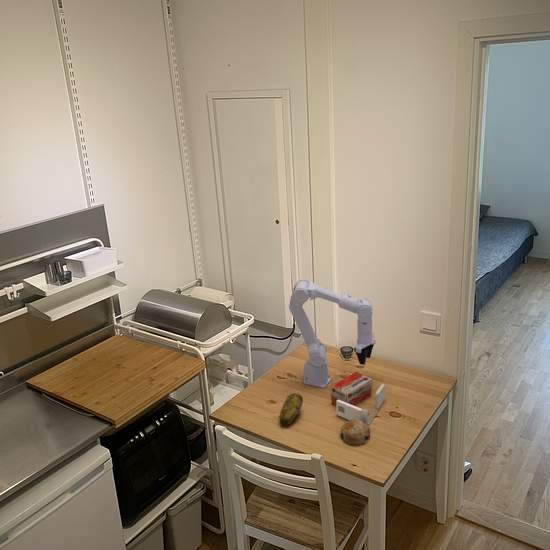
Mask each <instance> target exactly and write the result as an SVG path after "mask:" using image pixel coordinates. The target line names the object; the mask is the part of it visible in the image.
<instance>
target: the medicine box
mask: <svg viewBox="0 0 550 550" xmlns="http://www.w3.org/2000/svg"><path fill="white" fill-rule="evenodd" d="M372 381H373V379H372V378H371V377H368V376H366V375H364V374H363V373H361V372H358V371H355V372H353V373H351V374H349V375H348V376H345V377H344V378H343V379H341V380H339V381H338V382H336V383H334V384H332V385H331V387H330V400H331V404H332V403H333V404H332V405H335V406H336V401H337V400H341V401H343V402H346V403H348V404H351V405H353V406H356V407H357V406H358V405H359V404H361V403H363V402H365V401H366V400H367V399H369V398H371V397H372V393H373V389H372V387H373V385H372V384H373V382H372Z"/></svg>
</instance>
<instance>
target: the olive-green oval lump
mask: <svg viewBox="0 0 550 550" xmlns="http://www.w3.org/2000/svg"><path fill="white" fill-rule="evenodd" d="M303 401H304V398H303V396H302V395H300V394H299V393H290V394H289V395H288V396H287V397H286V399H285V400H284V403H283V405H282V407H281V410H280V412H279V420H280V423H281V424H282V425H285V426H288V425H289V424H292V422H293V421H294V419H296V417H297V416H298V414H299V412H300V411H301V408H302V406H303V403H304V402H303Z"/></svg>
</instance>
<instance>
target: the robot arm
mask: <svg viewBox="0 0 550 550" xmlns="http://www.w3.org/2000/svg"><path fill="white" fill-rule="evenodd" d="M309 298H310V299H309ZM317 298H319V299H323V300H325V301H329V302H333V303H334V304H337V305H338V307H339V309H342V310H345V311H348V312H350V313H354V314H356V315H357V319H356V320H357V321H356V323H357V329H356V330H357V339H356V346H355V347H354V348H353V352H354V353H355V354H356V356H357V360H358V363H359V365H363V366H365V365H366V361H367V359H371V356H372V352H373V349H374V346H375V344H376V340H374V339H373V338H374V335H375V334H374V332H373V314H374V313H373V305H372V302H371V301H370V300H368V299H367V298H360V299H359V298H357V297H355V296H352V294H351V293H348V294H347V293H343V294H339V293H336V292H334V291H332V290H329V289H327V288H325V287H322V286H320V285H318V284H316V283H315V282H314V281H309V280H306V279H299V280H298V281H297V282H296V283H295V285H294V287H293V289H292V291H291V295H290V299H289V305H288V308H289V312H290V313H291V315H292V318H293V319H294V321H295V324H296V326H297V328H298V330H299V333H300V334H301V337H302V338H303V341H304V342H305V345H306V348H307V354H308V356H309V359H306V360H305V362H304V365H303V384H304V385H310V386H313V387H317V388H322V389H324V388H325V387H326V386H328V385H329V383H330V382H331V381H332V377H329V374H328V369H329V368H328V360H327V358H326V356H327V352H328V349H327V347H326V345H325V344H324V343H322V341H321V340H320V339H319V338H318V337H317V335H316V332H315V330H314V327H313V326H312V323H311V322H310V320H309V317H308V314H307V313H306V311H305V309H304V307H303V306H304V304H305V303H307V301H308V300H310V301H313V300H316V299H317Z"/></svg>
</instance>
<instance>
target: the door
mask: <svg viewBox="0 0 550 550" xmlns="http://www.w3.org/2000/svg"><path fill="white" fill-rule="evenodd" d="M335 406H336V408H335V409H336V416H339V417H341V418H344V419H346V420H347V421H351V420H359V421H362V410H363V408H360V407H359V406H357V405H356V406H353V405H351V404H348V403H346V402H343V401H341V400H337V401H336V405H335Z"/></svg>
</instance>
